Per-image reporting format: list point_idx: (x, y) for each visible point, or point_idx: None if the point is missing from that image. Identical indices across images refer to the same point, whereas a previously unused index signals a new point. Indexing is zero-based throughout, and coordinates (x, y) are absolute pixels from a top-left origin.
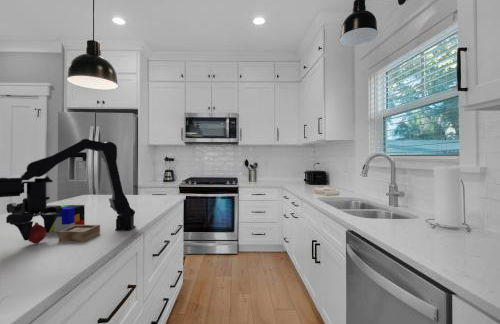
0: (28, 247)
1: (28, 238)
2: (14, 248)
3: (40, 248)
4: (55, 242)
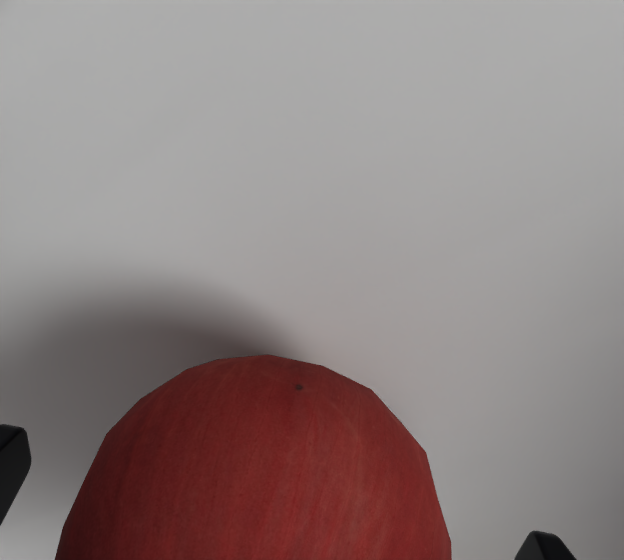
0: (124, 361)
1: (8, 499)
2: (61, 184)
3: None
4: None
